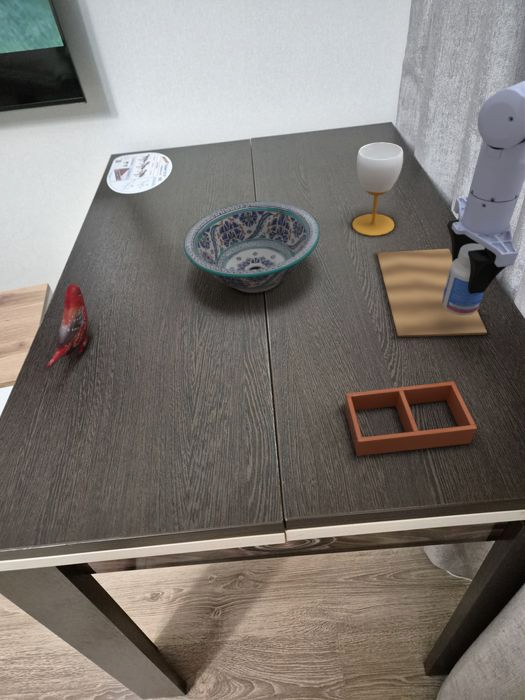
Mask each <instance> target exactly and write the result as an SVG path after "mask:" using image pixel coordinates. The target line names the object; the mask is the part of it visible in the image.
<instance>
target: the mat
mask: <svg viewBox="0 0 525 700" xmlns="http://www.w3.org/2000/svg"><path fill="white" fill-rule="evenodd" d="M376 256H377V261H378V264H379V267H380V272H381V276H382V277H381V278H382V280H383V284H384V289H385V292H386V297H387V300H388V304H389V308H390V312H391V315H392V317H391V318H392V320H393V324H394V329H395V333H396V337H397V338H398V339H399V338H422V337H451V336H476V335H477V336H480V335H487V334H488V331H487V329H486V327H485V324H484V322H483V320H482V318H481V316H480V314H479V311H478V310H477V311H476V312H475V313H473V314H470V315H457V314H453V313H451V312H449V311H447V310H446V309H445V308H444V306H443V304H442V298H443V294H444V290H445V286H446V282H447V278H448V274H449V271H450V267H451V264H452V251H451V250H450V248H438V249H437V248H434V249H417V250H416V249H415V250H399V251H398V250H397V251H396V250H395V251H380V252H377V253H376Z"/></svg>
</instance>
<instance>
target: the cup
mask: <svg viewBox="0 0 525 700" xmlns="http://www.w3.org/2000/svg"><path fill="white" fill-rule="evenodd" d="M403 164H404V150H403V148H402V147H401V146H400V145H398V144H395V143H392V142H382V141H381V142H371V143H368V144H365V145H363V146H361V147H360V148H359V150H358V151H357V157H356V173H357V177H358V182H359V185H360V187H361V188H362V189H363V191H365V192H366V193H367V194H369V195H371V196H373V203H372V212H371V213H366V214H363V215H362V214H361V215H359V216H358V217H356V218H354V220H353V221H352V228H353V230H354V231H355V232H356V233H358V234H360V235H363V236H368V237H381V236H384V235H387V234H389V233H391V232H392V231H394V228H395V222H394V220H393V219H392V218H390V217H389V216H387V215H385V214H380V213H377V211H378V202H379V201H378V200H379V196H382V195H385V194H386V193H388V192H389V191H390V190H392V189H393V187H394V186H395V184H396V183H397V181H398V179H399V176H400V175H401V172H402V168H403Z"/></svg>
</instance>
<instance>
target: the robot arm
mask: <svg viewBox="0 0 525 700" xmlns="http://www.w3.org/2000/svg"><path fill="white" fill-rule="evenodd" d="M477 129H478V133H479V136H480V137H481V139H482V141H481V145H480V148H479V152H478V156H477V160H476V163H475V167H474V171H473V175H472V179H471V183H470V188H469V191H468V195H467V196H465V197H463V196H462V197H456V198H455V203H454V206H453V211H454V213H455V214H457V215H458V218H457V219H454V220H449V221H448V222H447V224H446V227H447V230H448V233H449V236H450V244H451V254H452V262H453V261H454V260H455V259H457V258H458V255H459V252H460V249H461V247H462V246H464V245H466V244H480V245H482V246H484V247H485V248H484V250H483V249H481V250H473V251H468V256H469V259H470V277H469V283H468V291H469V293H470V294H475V293H483V292H484V293H485V291H486V290H487V289H488V287H489V286H490V285H491V283H492V282H493V281H494V279H495V278H496V277H497V276H498V275H499V274H501V272H502V271H504V269H506V268H507V267H510V266H511V267H512V266H514V265H515V262H516V259H517V257H518V254H519V252H518V250H517V249H516V247H515V244H514V239H513V233H512V228H511V220H512V217H513V214H514V212H515V209H516V206H517V203H518V200H519V197H520V194H521V191H522V189H523V186H524V182H525V80H523V81H520V82H518V83H516V84H513V85H511V86H508V87H505V88H504V89H500V90H499V91H497V92H496V93H494V94H492V95H491V96H489V97H488V98H487V99H486V100H485V101H484V103H483V104H482V106H481V107H480V110H479V112H478V115H477Z"/></svg>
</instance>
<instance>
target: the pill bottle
mask: <svg viewBox="0 0 525 700" xmlns="http://www.w3.org/2000/svg"><path fill="white" fill-rule="evenodd" d="M484 248H485V247H484V246H482V245H481V244H466V245H464V246H462V247H461V249H460V252H459V255H458V258H457V259H455V260H454V261H453V262H452V264H451V267H450V271H449V274H448V278H447V282H446V286H445V290H444V294H443V298H442V304H443V306H444V308H445V309H446V310H447V311H449V312H451V313H453V314H457V315H470V314H473V313H475V312H476V311H478V310H479V308H480V305H481V303H482V300H483V297H484V294H485V291H484V292H483V293H475V294H470V293H469V291H468V283H469V277H470V259H469V256H468V251H473V250H481V249H483V250H484Z"/></svg>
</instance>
